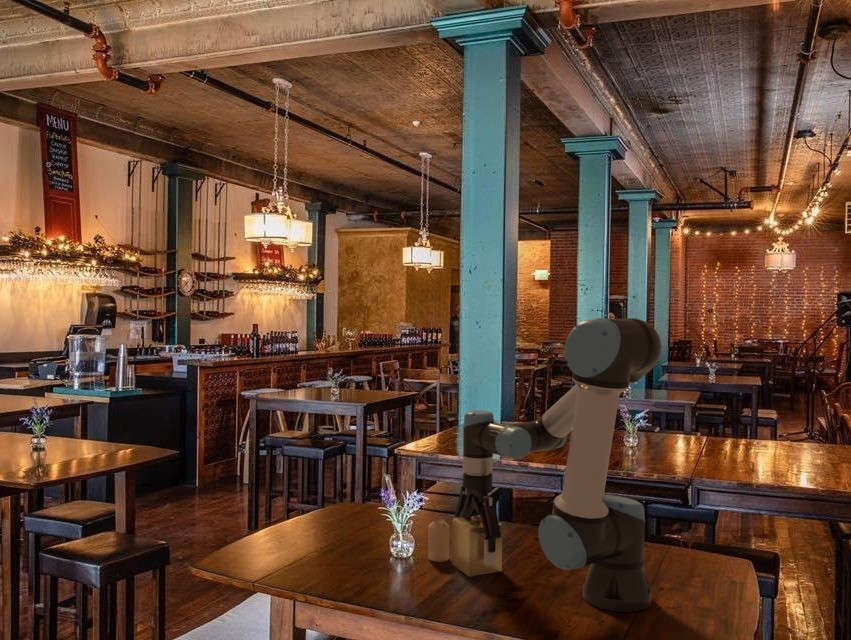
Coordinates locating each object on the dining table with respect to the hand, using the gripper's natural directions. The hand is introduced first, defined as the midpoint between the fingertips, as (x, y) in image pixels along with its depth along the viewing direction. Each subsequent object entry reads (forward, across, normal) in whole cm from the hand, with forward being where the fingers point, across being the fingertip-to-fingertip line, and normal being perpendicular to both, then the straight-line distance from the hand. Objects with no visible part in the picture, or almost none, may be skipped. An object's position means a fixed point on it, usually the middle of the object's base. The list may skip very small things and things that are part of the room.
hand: (476, 555), depth 188 cm
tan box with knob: (+3, 0, 0) cm, 3 cm away
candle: (+3, +10, +6) cm, 12 cm away
